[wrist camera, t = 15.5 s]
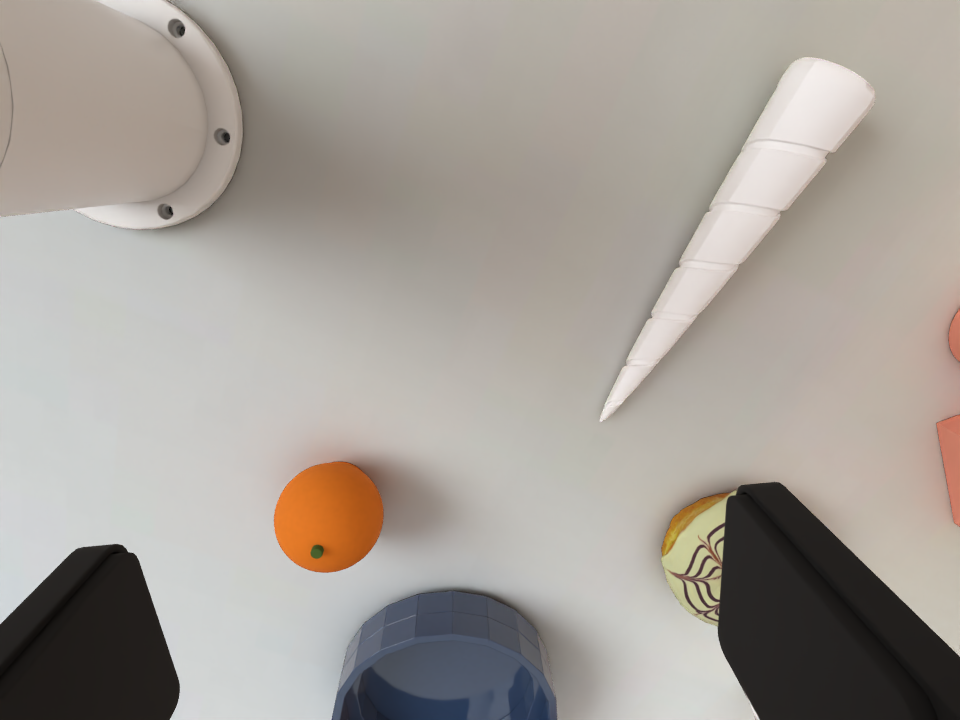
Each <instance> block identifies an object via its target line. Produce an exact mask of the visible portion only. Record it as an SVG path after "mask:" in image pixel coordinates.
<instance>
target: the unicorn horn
mask: <svg viewBox="0 0 960 720" xmlns="http://www.w3.org/2000/svg"><path fill="white" fill-rule="evenodd" d="M874 103H875V90H874V88H873V87H872V86H871V85H870V84H869V83H868V82H867V81H866V80H865V79H863V78H862V77H860V76H859V75H857V74H856V73H854V72H853V71H852V70H850V69H848V68H845V67H843V66H841V65H839V64H837V63H834V62H830V61H827V60H823V59H819V58H811V57H805V58H800V59H797V60H796V61H794V62H792V63H791V65H790V66H789V67H788V69H787V70H786V72H785V73H784V74H783V76H782V77H781V79H780V81H779V83H778V85H777V89H776V90H775V92H774V93H773V95H772V96H771V98H770V99H769V101H768V103H767V105H766V107H765V108H764V110H763V112H762V114H761V115H760V117H759V119H758V121H757V123H756V124H755V126H754V128H753V130H752V132H751V133H750V135H749V137H748V139H747V140H746V142H745V144H744V146H743V148H742V149H741V150H742V152H741V153H740V154H739V156H738V157H737V159H736V160H735V162H734V164H733V165H732V167H731V169H730V171H729V172H728V174H727V176H726V178H725V180H724V181H723V183H722V185H721V187H720V188H719V190H718V192H717V194H716V195H715V197H714V199H713V201H712V202H711V204H710V206H709V210H710V212H707V213H706V214H705V215H704V217H703V219H702V221H701V223H700V224H699V226H698V228H697V230H696V232H695V233H694V235H693V237H692V239H691V241H690V242H689V244H688V246H687V248H686V250H685V251H684V253H683V255H682V257H681V259H680V260H679V266H680V267H679V268H676V269H675V270H674V271H673V273H672V275H671V277H670V279H669V281H668V283H667V285H666V286H665V288H664V290H663V292H662V294H661V295H660V297H659V299H658V301H657V303H656V304H655V306H654V308H653V310H652V312H651V315H652V318H651V319H648V320H647V321H646V323H645V325H644V327H643V329H642V331H641V333H640V335H639V337H638V338H637V340H636V342H635V344H634V346H633V348H632V350H631V352H630V354H629V356H628V358H627V360H626V366H625V367H623V368H622V370H621V372H620V374H619V376H618V378H617V380H616V382H615V384H614V386H613V388H612V390H611V392H610V394H609V396H608V399H607V401H606V403H605V405H604V410H603V412H602V413H601V417H600V422H602V421H604V420H605V419H606V418H608V417H609V416H610V415H611V414H612V413H613V412H614V411H615V410H616V409H617V408H618V407H619V406H620V405H621V404H622V403H623V402H624V400H625V399H626V398H627V397H628V396H629V395H630V394H631V393H632V392H633V391H634V390H635V389H636V388H637V387H638V385H639V384H640V383H641V382H642V381H643V380H644V379H645V377H646V376H647V375H648V374H649V373H650V372H651V371H652V369H653V368H654V367H655V366H656V365H657V364H658V362H659V361H660V358H662V357H663V356H665V355H666V353H667V352H668V351H669V350H670V349H671V348H672V346H673V345H674V344H675V343H676V342H677V341H678V339H679V338H680V337H681V336H682V335H683V333H684V332H685V331H686V330H687V329H688V327H689V326H690V325H691V324H692V323H693V321H694V320H695V319H696V317H697V315H698V314H699V313H700V312H702V311H703V310H704V309H705V308H706V306H707V305H708V304H709V303H710V302H711V301H712V299H713V298H714V297H715V296H716V295H717V293H718V292H719V291H720V290H721V289H722V287H723V286H724V285H725V284H726V283H727V281H728V280H729V279H730V278H731V277H732V275H733V274H734V273H735V272H736V271H737V268H738V264H740V263H742V262H744V261H745V260H746V259H747V257H748V256H749V255H750V254H751V253H752V251H753V250H754V249H755V248H756V247H757V246H758V244H759V243H760V242H761V241H762V240H763V238H764V237H765V236H766V235H767V233H768V232H769V231H770V230H771V229H772V227H773V226H774V225H775V224H776V222H777V221H778V220H779V219H780V213H779V212H780V211H782V210H787V209H788V208H789V207H790V206H791V204H792V203H793V202H794V201H795V200H796V198H797V197H798V196H799V195H800V194H801V192H802V191H803V190H804V189H805V188H806V186H807V185H808V184H809V183H810V182H811V180H812V179H813V178H814V177H815V176H816V174H817V173H818V172H819V171H820V170H821V168H822V167H823V166H824V165H825V164H826V162H827V160H826V158H825V156H826V155H827V154H828V153H829V152H832V153H834V152H835V151H836V150H837V149H838V148H839V147H840V145H841V144H842V143H843V142H844V141H845V140H846V138H847V137H848V136H849V135H850V134H851V132H852V131H853V130H854V129H855V128H856V126H857V125H858V124H859V123H860V122H861V121H862V119H863V118H864V117H865V116H866V115H867V113H868V112H869V111H870V109H871V108H872V106H873V105H874Z"/></svg>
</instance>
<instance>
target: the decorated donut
mask: <svg viewBox="0 0 960 720" xmlns="http://www.w3.org/2000/svg"><path fill="white" fill-rule="evenodd" d="M736 492H737V490H735V491H733V492H732V493H722V494H717V495H714V496H710V497H706V498H702V499H700V500H698V501H697V502H695V503H694V504H692V505H690V506H688V507H686V508H684V509H682V510H681V511H680V512H679V514H677V515H675V516H674V517H673V519H672V521H671V523H670V528H669V529H668V531H667V533H666V536H665V539H664V541H663V545H662V559H661V562H662V565H663V568H664V571H665V574H666V579H667V582H668V584H669V586H670V588H671V589H672V591H673V593H674V594H675V596H676V598H677V599H678V600H679V602H680V604H681V605H682V606H683V607H684V608H685V609H686V610H687V611H688V612H689V613H691V614H692V615H694V616H695V617H697V618H699V619H700V620H702V621H704V622H706V623H709V624H712V625H715V626H717V627H718V617H719V602H720V588H721V573H722V558H723V543H724V528H725V514H726V503H727V499H728V497H729V496H733V495H736Z"/></svg>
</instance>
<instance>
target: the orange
mask: <svg viewBox="0 0 960 720" xmlns="http://www.w3.org/2000/svg"><path fill="white" fill-rule="evenodd" d="M383 516H384V515H383V504H382V499H381V496H380V494H379V491H378V489H377V487H376V486H375V484H374V483H373V482H372V481H371V480H370V478H369V477H368V476H367V475H365V474H364V473H363V471H362V470H360V469H359V468H358V467H356V466H355V465H353V464H350V463H347V462H332V463H324V464H319V465H315V466H313V467H310V468H308V469H306V470H304V471H302V472H301V473H299V474H298V475H297V476H296V477H295V478H293V479H292V480H291V481H290V482H289V483H288V485H287V486H286V487H285V489H284V490H283V492H282V493H281V495H280V497H279V500H278V502H277V505H276V509H275V515H274V527H275V533H276V537H277V540H278V543H279V545H280V547H281V548H282V550H283V551H284V553H285V554H286V555H287V556H288V557H289V558H290V559H291V560H292V561H293V562H294V563H296V564H297V565H299V566H301V567H303V568H305V569H308V570H311V571H315V572H325V573H328V572H336V571H340V570H343V569H346V568H348V567H350V566H352V565H354V564H356V563H357V562H359V561H360V560H361V559H362V558H364V557H365V556H366V555H367V554H368V552H369V551H370V550H371V549H372V548H373V546H374V545H375V543H376V541H377V539H378V537H379V535H380V532H381V528H382V524H383Z"/></svg>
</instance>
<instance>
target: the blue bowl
mask: <svg viewBox="0 0 960 720" xmlns="http://www.w3.org/2000/svg"><path fill="white" fill-rule="evenodd" d="M332 720H557V704H556V695H555V690H554V685H553V679H552V674H551V669H550V663H549V658H548V653H547V651H546V649H545V647H544V644H543V642H542V640H541V638H540V636H539V634H538V632H537V630H536V629H535V628H534V627H533V626H532V625H531V624H530V623H529V622H528V621H526V620H525V619H524V618H523V617H522V616H521V615H520V614H519V613H518V612H517V611H516V610H514V609H513V608H510V607H508V606H506V605H504V604H502V603H500V602H498V601H495V600H493V599H491V598H489V597H487V596H482V595H476V594H470V593H464V592H458V591H446V592H435V593H424V594H417V595H415V596H412V597H409V598H407V599H404V600H401V601H399V602H396V603H393V604H391V605H388V606H387V607H385V608H384V609H383V610H381V611H380V612H379V613H377V614H376V615H375V616H373V617H372V618H371V619H369V620H368V621H367V622H365V623H364V624H363V625H362V627H361V628H360V630H359V631H358V633H357V634H356V636H355V637H354V639H353V640H352V642H351V643H350V644H349V646H348V648H347V652H346V656H345V661H344V665H343V669H342V674H341V678H340V682H339V687H338V691H337V696H336V700H335V705H334V710H333V715H332Z"/></svg>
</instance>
